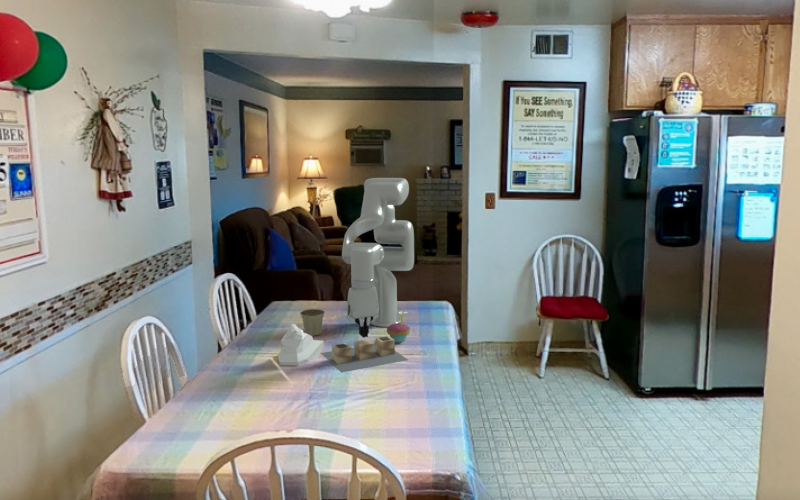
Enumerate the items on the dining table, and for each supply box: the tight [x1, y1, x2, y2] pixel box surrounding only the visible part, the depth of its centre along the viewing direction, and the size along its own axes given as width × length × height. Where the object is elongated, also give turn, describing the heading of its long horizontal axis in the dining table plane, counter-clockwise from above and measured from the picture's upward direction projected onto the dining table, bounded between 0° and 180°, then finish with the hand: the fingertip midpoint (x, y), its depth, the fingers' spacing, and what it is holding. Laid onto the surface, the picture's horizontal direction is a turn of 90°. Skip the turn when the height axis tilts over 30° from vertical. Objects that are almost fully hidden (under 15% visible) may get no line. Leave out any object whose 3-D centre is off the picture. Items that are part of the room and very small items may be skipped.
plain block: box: [353, 338, 374, 360], centre depth 199 cm, size 5×5×5 cm
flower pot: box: [300, 308, 326, 337], centre depth 226 cm, size 9×9×9 cm
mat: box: [320, 343, 409, 373], centre depth 200 cm, size 24×20×1 cm
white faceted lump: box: [277, 323, 325, 366], centre depth 196 cm, size 12×15×14 cm
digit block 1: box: [331, 342, 352, 364], centre depth 196 cm, size 5×5×5 cm
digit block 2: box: [375, 335, 396, 356], centre depth 203 cm, size 5×5×5 cm
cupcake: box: [386, 310, 411, 343], centre depth 215 cm, size 9×8×12 cm
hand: (363, 336), depth 199 cm, fingers closed
